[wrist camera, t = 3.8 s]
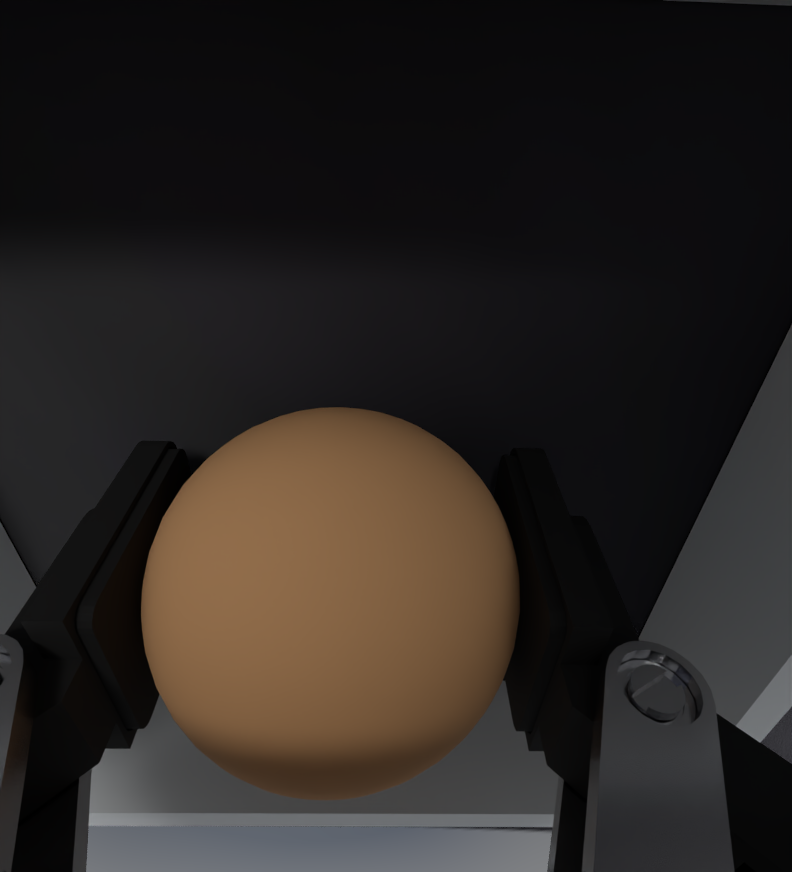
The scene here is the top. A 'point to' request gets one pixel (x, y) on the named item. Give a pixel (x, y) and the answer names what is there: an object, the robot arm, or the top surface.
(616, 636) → the robot arm
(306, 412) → the ball
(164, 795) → the grey square frame
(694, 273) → the top surface
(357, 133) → the top surface
